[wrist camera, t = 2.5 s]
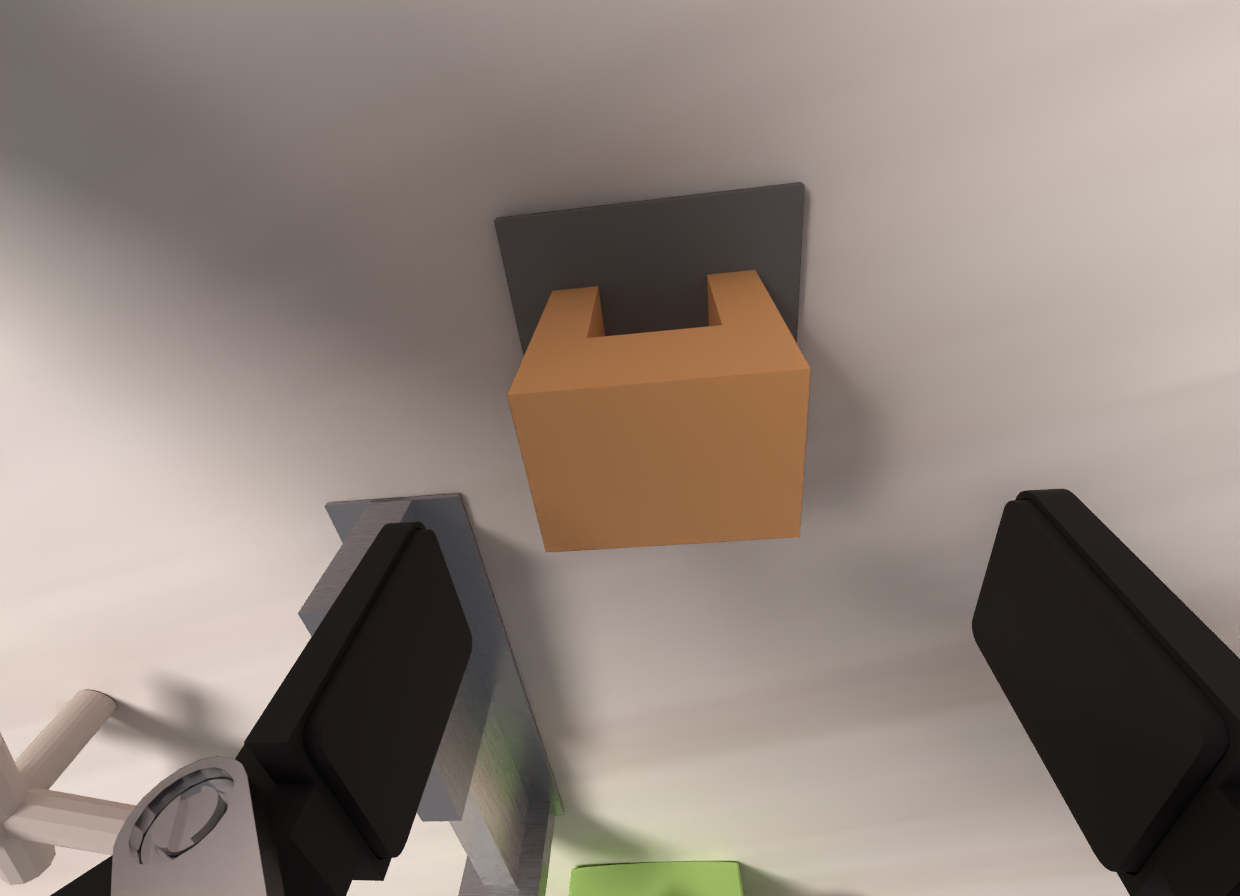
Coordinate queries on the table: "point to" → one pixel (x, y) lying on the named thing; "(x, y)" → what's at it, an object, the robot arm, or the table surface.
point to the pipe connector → (54, 795)
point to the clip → (663, 424)
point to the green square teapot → (658, 879)
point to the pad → (655, 256)
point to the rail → (467, 709)
